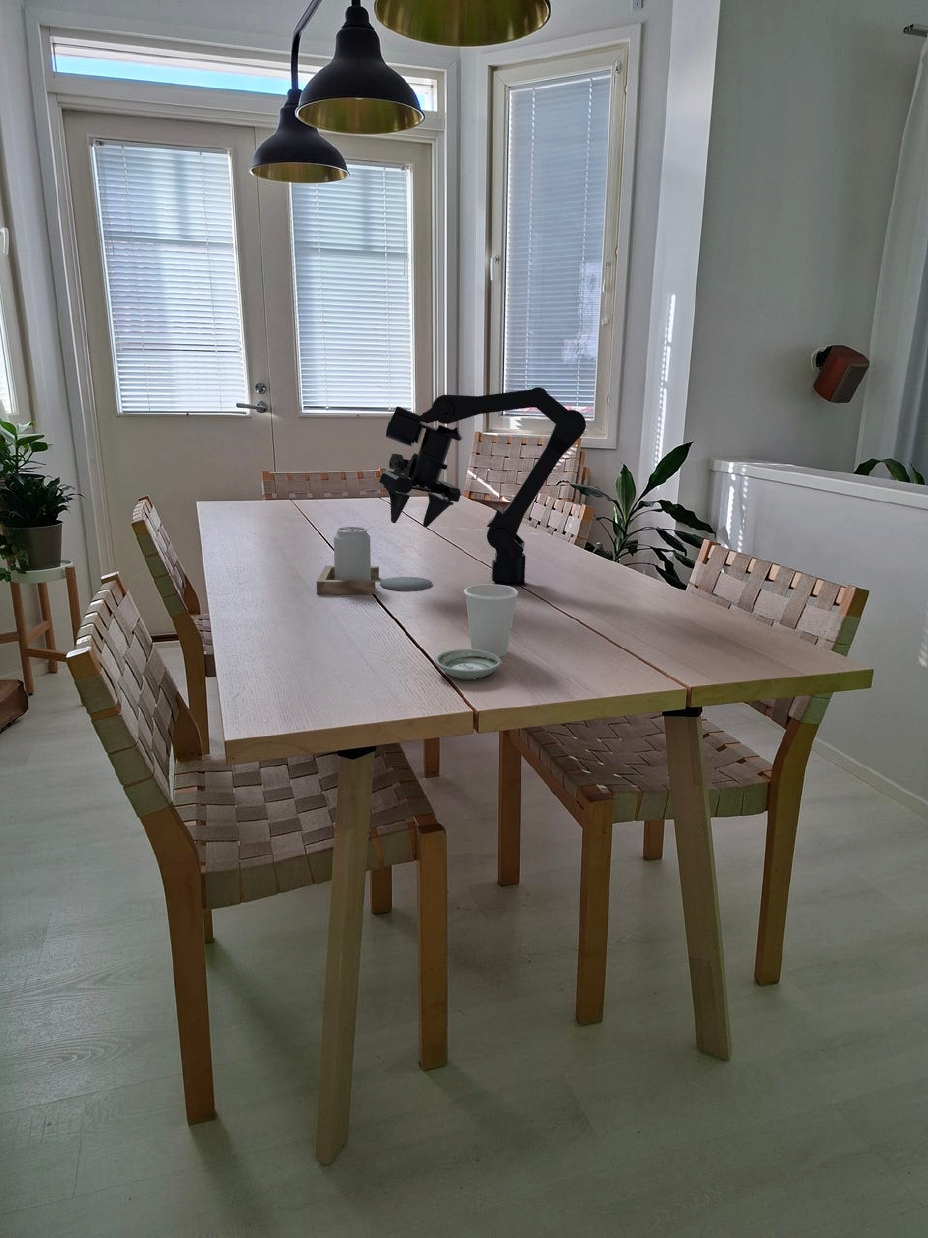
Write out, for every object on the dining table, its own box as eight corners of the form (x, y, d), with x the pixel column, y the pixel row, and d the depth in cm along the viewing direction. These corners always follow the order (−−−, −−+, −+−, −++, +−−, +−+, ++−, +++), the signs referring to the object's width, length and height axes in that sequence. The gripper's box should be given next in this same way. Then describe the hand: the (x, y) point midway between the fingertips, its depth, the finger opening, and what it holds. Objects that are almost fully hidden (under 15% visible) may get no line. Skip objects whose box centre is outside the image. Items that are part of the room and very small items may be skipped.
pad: (431, 578, 175) (431, 576, 175) (432, 591, 164) (432, 589, 164) (381, 578, 174) (381, 576, 174) (378, 590, 164) (378, 588, 164)
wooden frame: (378, 577, 175) (378, 566, 175) (375, 594, 161) (374, 582, 160) (325, 576, 175) (325, 565, 174) (317, 593, 160) (316, 581, 160)
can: (368, 590, 164) (367, 531, 161) (331, 589, 164) (330, 530, 161) (373, 581, 172) (372, 525, 168) (338, 580, 172) (336, 524, 168)
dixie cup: (484, 640, 133) (486, 581, 130) (526, 651, 128) (529, 590, 125) (452, 652, 126) (453, 590, 124) (494, 664, 121) (496, 599, 119)
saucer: (421, 676, 116) (421, 660, 115) (457, 659, 124) (458, 644, 123) (478, 691, 111) (478, 674, 110) (512, 672, 119) (513, 656, 118)
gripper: (439, 449, 179) (417, 515, 183) (375, 434, 165) (353, 506, 170) (472, 466, 172) (449, 534, 176) (408, 451, 158) (384, 525, 163)
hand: (409, 524), depth 171 cm, fingers open, 9 cm apart
